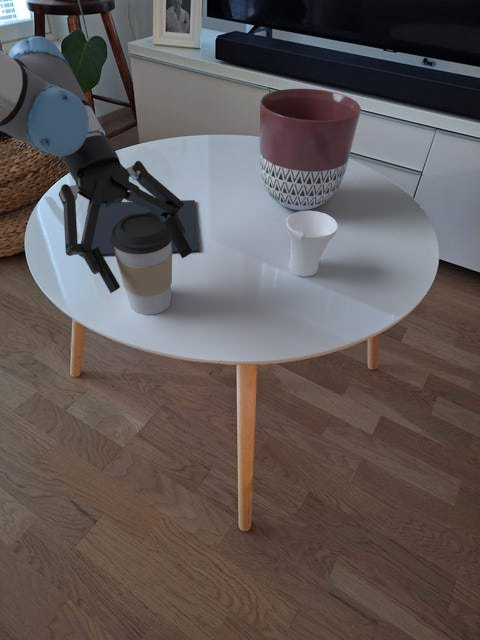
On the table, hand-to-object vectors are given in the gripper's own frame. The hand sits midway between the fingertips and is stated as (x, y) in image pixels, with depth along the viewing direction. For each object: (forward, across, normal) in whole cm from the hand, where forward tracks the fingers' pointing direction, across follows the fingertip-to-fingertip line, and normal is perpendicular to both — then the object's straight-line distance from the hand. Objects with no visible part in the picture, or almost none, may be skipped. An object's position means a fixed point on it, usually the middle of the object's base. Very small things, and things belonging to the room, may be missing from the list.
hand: (153, 272), depth 72 cm
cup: (+12, -26, +2) cm, 29 cm away
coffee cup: (+4, 0, -6) cm, 7 cm away
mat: (-11, -13, -21) cm, 27 cm away
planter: (0, -45, -11) cm, 46 cm away
